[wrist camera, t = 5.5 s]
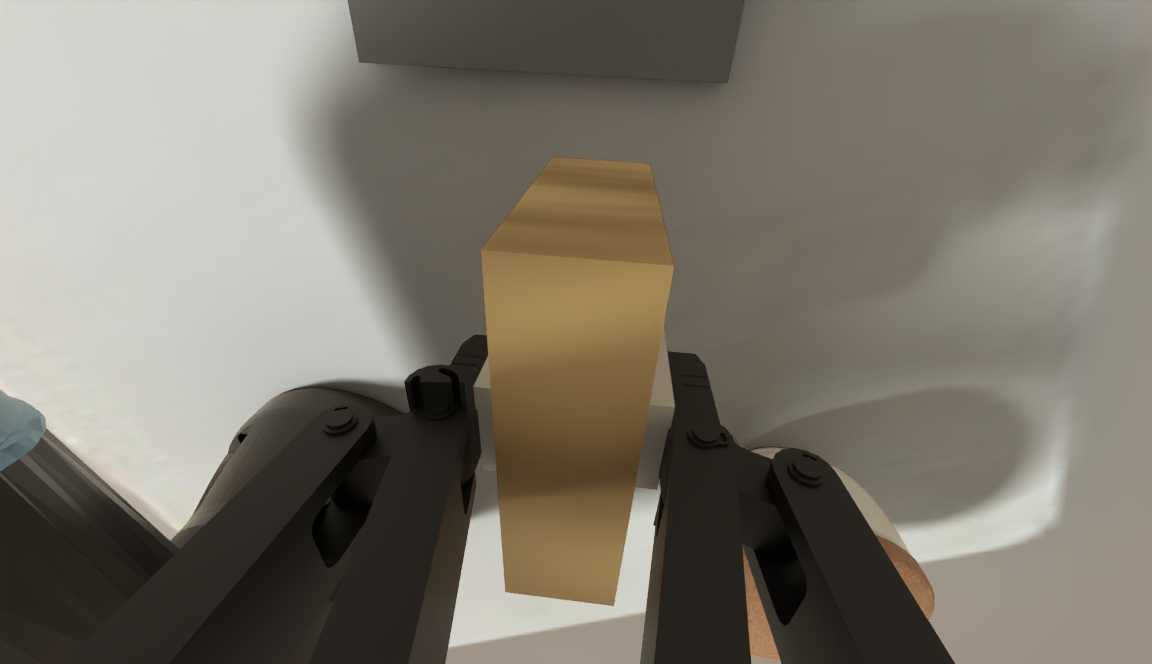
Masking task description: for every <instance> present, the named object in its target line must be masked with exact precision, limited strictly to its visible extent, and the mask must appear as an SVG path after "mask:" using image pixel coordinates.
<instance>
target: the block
mask: <svg viewBox="0 0 1152 664" xmlns="http://www.w3.org/2000/svg"><path fill="white" fill-rule="evenodd" d="M481 262H482V275H483V289H484V303H485V317H486V331H487V344H488V358H489V372H490V386H491V399H492V413H493V427H494V441H495V454H496V468H497V482H498V496H499V510H500V523H501V537H502V551H503V565H504V578H505V592H509V593H517V594H525V595H533V596H541V597H549V598H556V599H564V600H572V601H580V602H588V603H596V604H603V605H611V606H614V601H615V596H616V590H617V584H618V579H619V573H620V568H621V562H622V556H623V551H624V545H625V540H626V534H627V528H628V523H629V517H630V511H631V506H632V500H633V495H634V489H635V483H636V478H637V472H638V467H639V461H640V455H641V450H642V444H643V439H644V433H645V427H646V422H647V416H648V411H649V405H650V399H651V394H652V388H653V383H654V377H655V371H656V366H657V360H658V355H659V349H660V343H661V338H662V332H663V327H664V321H665V315H666V310H667V304H668V299H669V293H670V287H671V282H672V276H673V270H674V263H673V258H672V254H671V250H670V246H669V242H668V237H667V233H666V229H665V225H664V221H663V216H662V212H661V208H660V204H659V200H658V195H657V191H656V187H655V183H654V179H653V174H652V170H651V166H650V164H649V163H634V162H619V161H604V160H590V159H575V158H560V157H553V158H552V159H551V161H550V162H549V163H548V164H547V166H546V167H545V168H544V170H543V171H542V172H541V173H540V175H539V176H538V177H537V179H536V180H535V181H534V182H533V184H532V185H531V186H530V188H529V189H528V190H527V191H526V193H525V194H524V195H523V196H522V198H521V199H520V200H519V202H518V203H517V204H516V205H515V207H514V208H513V209H512V211H511V212H510V213H509V214H508V216H507V217H506V218H505V220H504V221H503V222H502V223H501V225H500V226H499V227H498V229H497V230H496V231H495V232H494V234H493V235H492V236H491V238H490V239H489V240H488V241H487V243H486V244H485V245H484V247H483V248H482V249H481Z"/></svg>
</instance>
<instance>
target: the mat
mask: <svg viewBox="0 0 1152 664" xmlns="http://www.w3.org/2000/svg"><path fill="white" fill-rule="evenodd" d="M348 4H349V9H350V15H351V20H352V25H353V31H354V36H355V41H356V47H357V52H358V58H359V62H361V63H378V64H396V65H414V66H431V67H449V68H467V69H484V70H502V71H519V72H537V73H555V74H572V75H590V76H608V77H625V78H643V79H660V80H678V81H696V82H713V83H728V78H729V73H730V68H731V63H732V58H733V53H734V48H735V43H736V38H737V33H738V28H739V23H740V18H741V14H742V9H743V4H744V0H348Z"/></svg>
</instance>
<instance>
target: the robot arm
mask: <svg viewBox="0 0 1152 664" xmlns="http://www.w3.org/2000/svg"><path fill="white" fill-rule="evenodd" d="M404 383H405V388H406V393H407V398H408V403H409V408H410V411H409V412H408V413H405V414H400V413H398V412H396V411H395V410H393V409H391V408H389V407H387V406H385V405H383V404H381V403H378V402H376V401H374V400H371V399H368V398H366V397H363V396H359V395H356V394H352V393H349V392H344V391H339V390H332V389H323V388H307V389H298V390H293V391H289V392H286V393H283V394H280V395H278V396H276V397H274V398H273V399H271V400H270V401H269V402H267V403H266V404H265V405H264V406H263V407H262V408H261V409H260V410H259V411H257V412H256V413H255V414H254V415H253V416H252V417H251V418H250V419H249V420H248V421H247V422H245V424H244V425H243V426H242V427H241V428H240V429H239V431H238V432H237V433H236V435H235V437H234V439H233V440H232V442H231V444H230V447H229V451H228V454H227V455H226V457H225V458H224V460H223V461H222V463H221V464H220V466H219V468H218V469H217V471H216V473H215V474H214V476H213V478H212V480H211V481H210V483H209V485H208V487H207V489H206V491H205V493H204V494H203V496H202V498H201V500H200V502H199V504H198V506H197V508H196V510H195V511H194V513H193V515H192V517H191V518H190V520H189V521H188V522H187V524H186V525H185V526H184V527H183V528H182V529H181V530H180V531H179V532H178V533H177V535H176V536H175V537H174V538H173V539H172V540H171V541H170V540H169V539H167V538H166V537H165V536H164V535H163V534H162V533H161V532H160V531H159V530H158V529H157V528H155V527H154V526H153V525H152V524H151V523H150V522H149V521H148V520H147V519H145V518H144V517H143V516H142V515H141V514H140V513H139V512H138V511H137V510H135V508H133V507H132V506H131V505H130V504H129V503H128V502H127V501H126V500H124V499H123V498H122V497H121V496H120V495H119V494H118V493H117V492H115V490H114V489H112V488H111V487H110V486H109V485H108V484H107V483H106V482H105V481H104V480H103V479H101V478H100V477H99V476H98V475H97V474H96V473H95V472H94V471H93V470H92V469H90V468H89V467H88V466H87V465H86V464H85V463H84V462H83V461H82V460H81V459H79V458H78V457H77V456H76V455H75V454H74V453H73V452H72V451H71V450H70V449H68V448H67V447H66V446H65V445H64V444H63V443H62V442H61V441H60V440H59V439H57V438H56V437H55V436H54V435H53V434H52V433H51V432H50V431H49V430H47V429H46V420H45V417H44V416H43V415H42V414H41V413H40V412H39V411H38V410H36V409H35V408H34V407H33V406H31V405H29V404H28V403H26V402H25V401H22V400H19V399H16V398H13V397H9V396H8V395H7V394H5V393H4V392H3V391H2V390H0V664H445V661H446V656H447V650H448V644H449V638H450V633H451V627H452V621H453V615H454V610H455V604H456V598H457V592H458V586H459V581H460V575H461V569H462V563H463V558H464V552H465V546H466V540H467V534H468V529H469V523H470V517H471V511H472V506H473V500H474V494H475V488H476V477H475V469H476V466H477V463H478V461H479V458H480V459H481V469H482V470H489V471H497V468H496V454H495V441H494V427H493V413H492V399H491V386H490V372H489V358H488V344H487V336H485V335H474V336H472V337H471V338H469V339H468V340H467V341H465V342H464V343H463V344H462V345H461V347H460V349H459V351H458V352H457V355H456V356H455V357H454V359H453V361H452V364H451V365H450V366H448V365H432V366H427V367H424V368H421V369H418V370H417V371H415V372H414V373H412V374H411V375H409V377H408V378H407V379H406V380H405V382H404ZM659 478H660V487H661V494H660V498H659V503H658V507H657V512H656V516H655V520H654V525H655V526H656V527H655V536H654V545H653V554H652V562H651V571H650V580H649V589H648V598H647V607H646V616H645V625H644V634H643V643H642V652H641V660H640V664H751V654H750V641H749V628H748V614H747V601H746V587H745V574H744V560H743V549H744V552H745V555H746V558H747V561H748V564H749V567H750V570H751V573H752V576H753V579H754V582H755V585H756V588H757V591H758V594H759V597H760V600H761V603H762V606H763V609H764V612H765V615H766V618H767V621H768V624H769V627H770V630H771V633H772V636H773V639H774V642H775V645H776V648H777V651H778V654H779V657H780V660H781V663H782V664H955V663H954V661H953V660H952V658H951V656H950V655H949V653H948V651H947V650H946V648H945V647H944V645H943V643H942V642H941V640H940V639H939V637H938V635H937V634H936V632H935V631H934V629H933V628H932V626H931V624H930V622H929V621H928V619H927V618H926V616H925V614H924V613H923V611H922V610H921V608H920V606H919V605H918V603H917V601H916V600H915V598H914V597H913V595H912V593H911V592H910V590H909V589H908V587H907V585H906V584H905V582H904V580H903V579H902V577H901V576H900V574H899V572H898V571H897V569H896V568H895V566H894V564H893V563H892V561H891V560H890V558H889V556H888V555H887V553H886V551H885V550H884V548H883V547H882V545H881V543H880V542H879V540H878V539H877V537H876V535H875V534H874V532H873V530H872V529H871V527H870V526H869V524H868V522H867V521H866V519H865V518H864V516H863V514H862V513H861V511H860V510H859V508H858V506H857V505H856V503H855V501H854V500H853V498H852V497H851V495H850V493H849V492H848V490H847V489H846V487H845V485H844V484H843V482H842V480H841V479H840V477H839V476H838V474H837V473H836V472H835V470H834V469H833V468H832V467H831V466H830V465H829V464H828V463H827V462H826V461H824V460H823V459H821V458H820V457H819V456H817V455H815V454H812V453H810V452H808V451H805V450H800V449H794V448H790V449H782V450H780V451H779V452H777V453H776V454H775V455H774V457H773V459H771V458H768V457H765V456H762V455H759V454H757V453H754V452H751V451H749V450H746V449H744V448H742V447H740V446H739V445H737V444H736V443H734V440H733V437H732V435H731V434H730V433H729V432H728V430H727V429H726V428H725V427H723V426H722V425H720V421H719V418H718V414H717V410H716V406H715V402H714V398H713V394H712V390H711V389H710V383H709V379H708V375H707V371H706V367H705V365H704V363H703V362H702V361H701V360H700V359H699V358H698V357H697V356H696V354H689V353H678V352H668V351H667V346H666V339H665V331H664V327H663V332H662V338H661V343H660V349H659V355H658V360H657V366H656V371H655V377H654V383H653V388H652V394H651V399H650V405H649V411H648V416H647V422H646V427H645V433H644V439H643V444H642V450H641V455H640V461H639V467H638V472H637V478H636V483H635V487H639V488H648V489H656V490H657V488H658V483H659ZM742 545H743V547H742Z"/></svg>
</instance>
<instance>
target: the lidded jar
mask: <svg viewBox="0 0 1152 664" xmlns="http://www.w3.org/2000/svg"><path fill="white" fill-rule="evenodd" d="M782 449H787V448H779V447H765V448H758V449H753V450H750V451H751V452H754V453H757V454H759V455H762V456H765V457H768V458H771V459H773V457H774V455H775V454H776V453H777V452H779V451H780V450H782ZM829 465H830V464H829ZM830 466H831V467H832V468H833V469H834V470H835V472H836V473H837V474H838V476H839V477H840V479H841V480H842V482H843V484H844V485H845V487H846V489H847V490H848V492H849V493H850V495H851V497H852V498H853V500H854V501H855V503H856V505H857V506H858V508H859V510H860V511H861V513H862V514H863V516H864V518H865V519H866V521H867V522H868V524H869V526H870V527H871V529H872V530H873V532H874V534H875V535H876V537H877V539H878V540H879V542H880V543H881V545H882V547H883V548H884V550H885V551H886V553H887V555H888V556H889V558H890V560H891V561H892V563H893V564H894V566H895V568H896V569H897V571H898V572H899V574H900V576H901V577H902V579H903V580H904V582H905V584H906V585H907V587H908V589H909V590H910V592H911V593H912V595H913V597H914V598H915V600H916V601H917V603H918V605H919V606H920V608H921V610H922V611H923V613H924V614H925V616H926V618H927V619H928V620H929V619H930V616H931V614H932V612H933V609H934V593H933V590H932V586H931V585H930V583H929V581H928V579H927V577H926V575H925V574H924V572H923V571H922V569H921V568H920V566H919V564H918V563H917V561H916V560H915V559H914V558H913V557H912V556H911V554H910V552H909V551H908V549H907V547H906V545H905V544H904V542H903V540H902V539H901V537H900V535H899V534H898V532H897V530H896V529H895V527H894V526H893V524H892V523H891V521H890V520H889V518H888V517H887V516H886V514H885V513H884V512H883V510H882V509H881V508H880V506H879V505H878V504H877V503H876V502H875V500H874V499H873V498H872V497H871V496H870V495H869V494H868V493H867V492H866V491H865V490H864V489H863V488H862V487H861V486H860V485H859V484H858V483H857V482H855V481H854V480H853V479H852V478H851V477H849V476H848V475H847V474H845V473H844V472H842V471H840V470H839V469H837V468H835V467H834V466H832V465H830ZM742 547H743V545H742ZM743 560H744V574H745V587H746V601H747V614H748V628H749V641H750V654H752V655H755V656H759V657H763V658H769V659H773V660H780V657H779V654H778V651H777V648H776V645H775V642H774V639H773V636H772V633H771V630H770V627H769V624H768V621H767V618H766V615H765V612H764V609H763V606H762V603H761V600H760V597H759V594H758V591H757V588H756V585H755V582H754V579H753V576H752V573H751V570H750V567H749V564H748V561H747V558H746V555H745V552H744V549H743ZM780 661H781V660H780Z"/></svg>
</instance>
